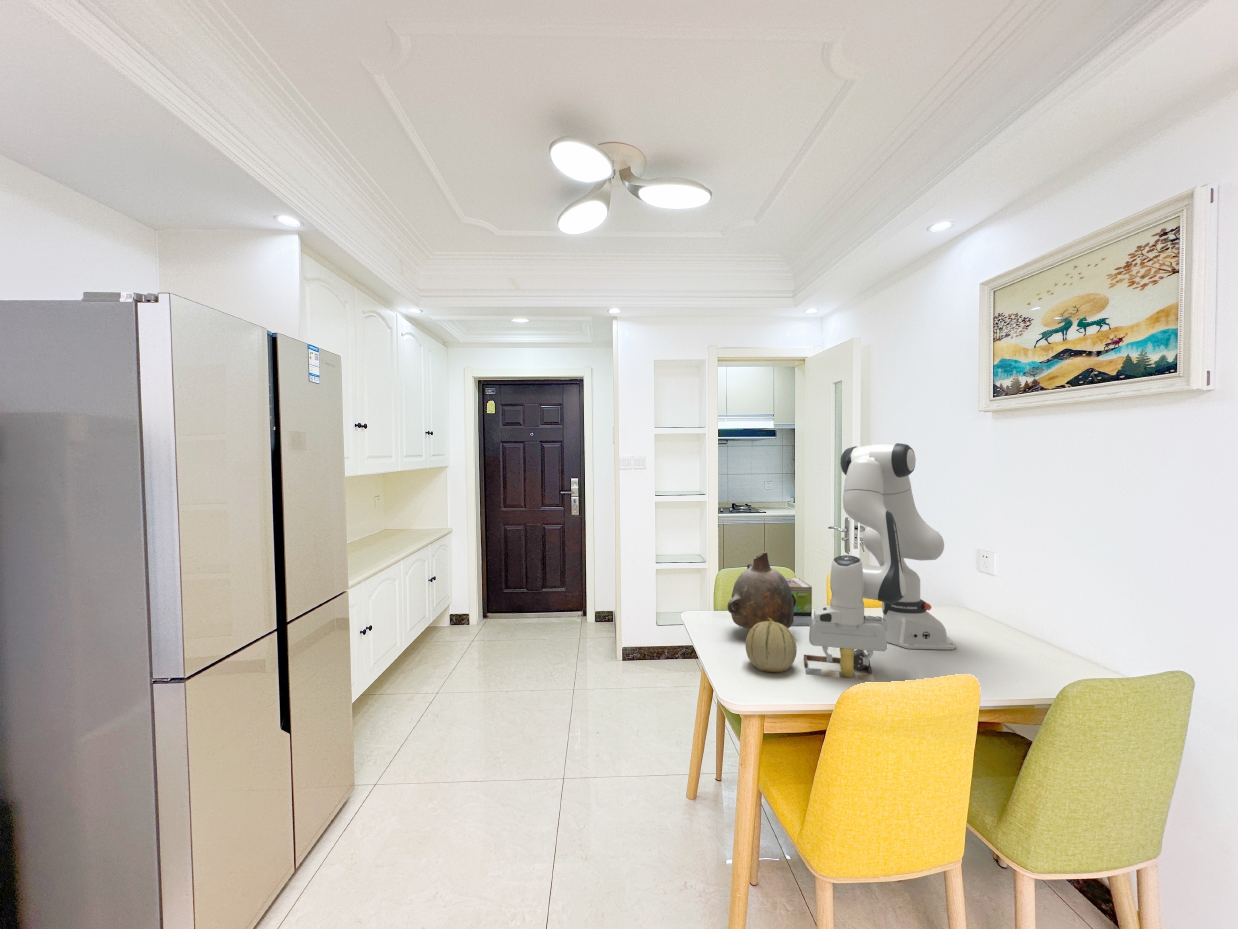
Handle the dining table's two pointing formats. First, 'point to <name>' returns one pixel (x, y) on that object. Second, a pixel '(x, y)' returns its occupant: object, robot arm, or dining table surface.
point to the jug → (761, 596)
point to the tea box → (801, 601)
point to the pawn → (847, 662)
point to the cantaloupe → (771, 646)
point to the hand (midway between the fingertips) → (847, 663)
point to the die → (859, 659)
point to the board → (832, 672)
